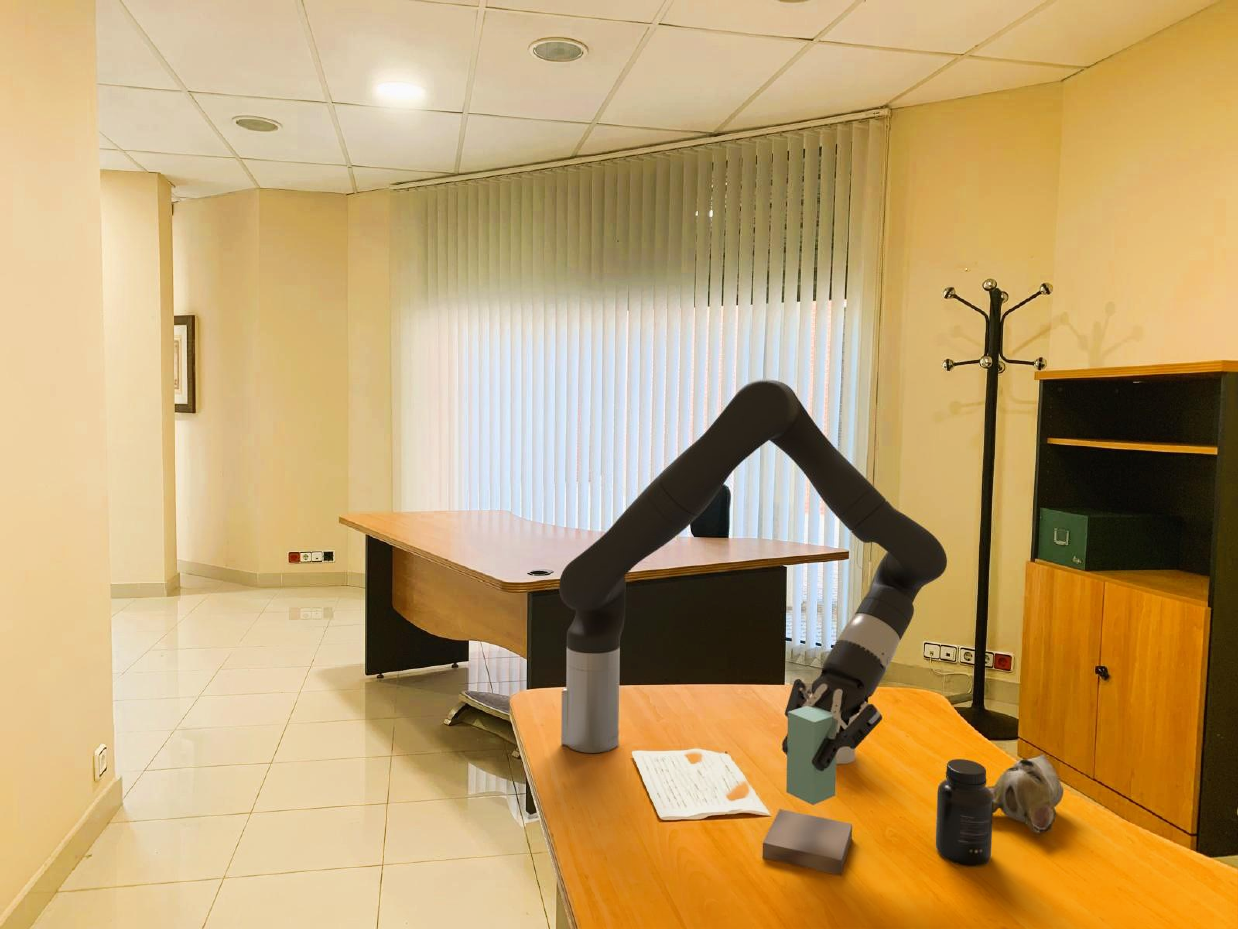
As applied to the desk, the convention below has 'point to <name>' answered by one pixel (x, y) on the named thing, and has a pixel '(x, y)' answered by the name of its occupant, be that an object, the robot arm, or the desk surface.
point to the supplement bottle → (964, 814)
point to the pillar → (808, 755)
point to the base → (808, 841)
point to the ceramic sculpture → (1029, 793)
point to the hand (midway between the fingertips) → (801, 760)
